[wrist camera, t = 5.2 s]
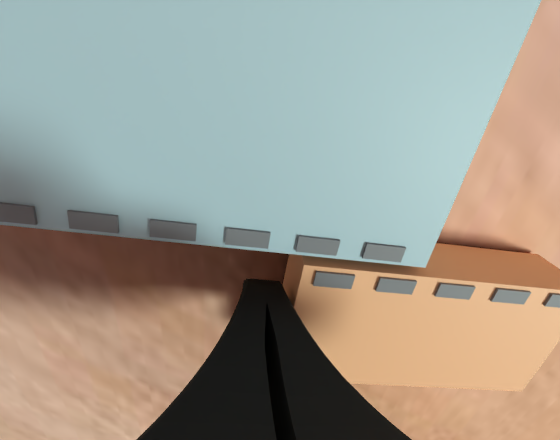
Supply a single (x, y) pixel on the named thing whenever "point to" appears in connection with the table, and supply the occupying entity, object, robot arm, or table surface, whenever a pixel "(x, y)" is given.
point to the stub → (431, 317)
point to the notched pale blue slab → (250, 118)
